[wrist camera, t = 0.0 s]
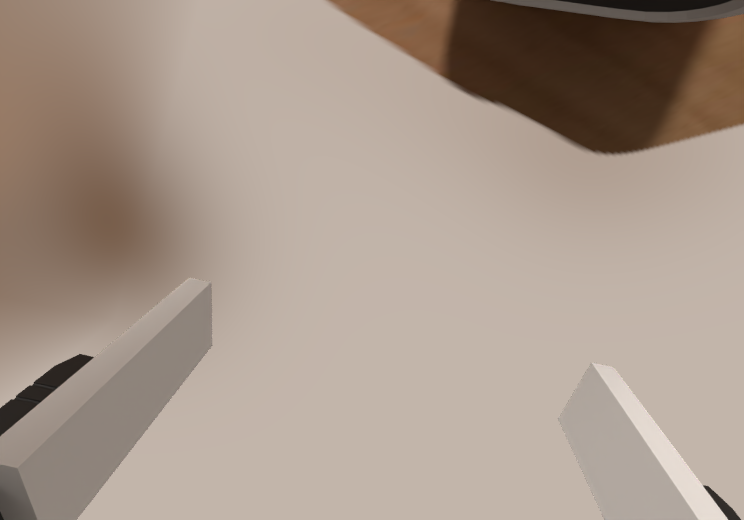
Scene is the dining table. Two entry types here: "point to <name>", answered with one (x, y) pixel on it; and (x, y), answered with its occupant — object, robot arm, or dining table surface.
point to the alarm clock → (644, 8)
